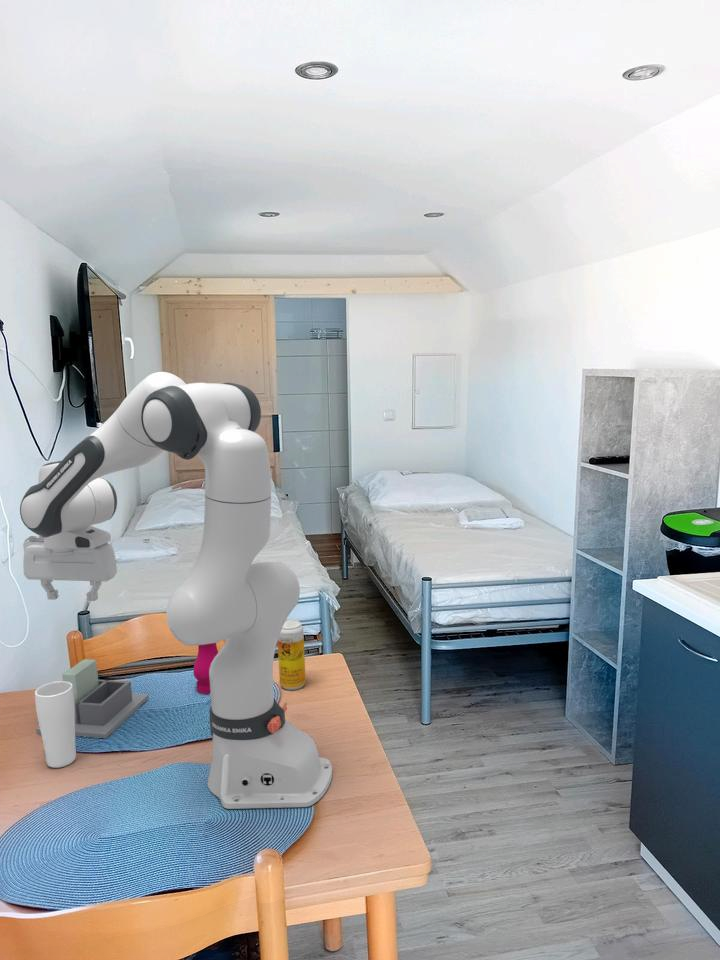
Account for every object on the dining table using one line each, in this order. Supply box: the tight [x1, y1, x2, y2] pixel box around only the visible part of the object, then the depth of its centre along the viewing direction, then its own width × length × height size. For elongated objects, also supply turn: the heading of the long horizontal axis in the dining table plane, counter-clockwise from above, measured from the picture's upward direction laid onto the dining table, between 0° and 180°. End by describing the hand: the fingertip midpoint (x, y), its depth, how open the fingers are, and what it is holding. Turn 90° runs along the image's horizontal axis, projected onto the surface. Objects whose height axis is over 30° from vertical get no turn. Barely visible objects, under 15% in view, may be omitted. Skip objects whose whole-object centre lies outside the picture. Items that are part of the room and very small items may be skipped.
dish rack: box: [35, 678, 150, 739], centre depth 154 cm, size 16×18×6 cm
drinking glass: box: [34, 680, 77, 769], centre depth 135 cm, size 7×7×15 cm
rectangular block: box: [62, 658, 99, 702], centre depth 154 cm, size 3×8×10 cm, turn 168°
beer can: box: [277, 619, 307, 691], centre depth 165 cm, size 6×6×15 cm
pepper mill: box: [192, 642, 219, 695], centre depth 164 cm, size 7×7×20 cm
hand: (72, 599), depth 151 cm, fingers open, 8 cm apart
